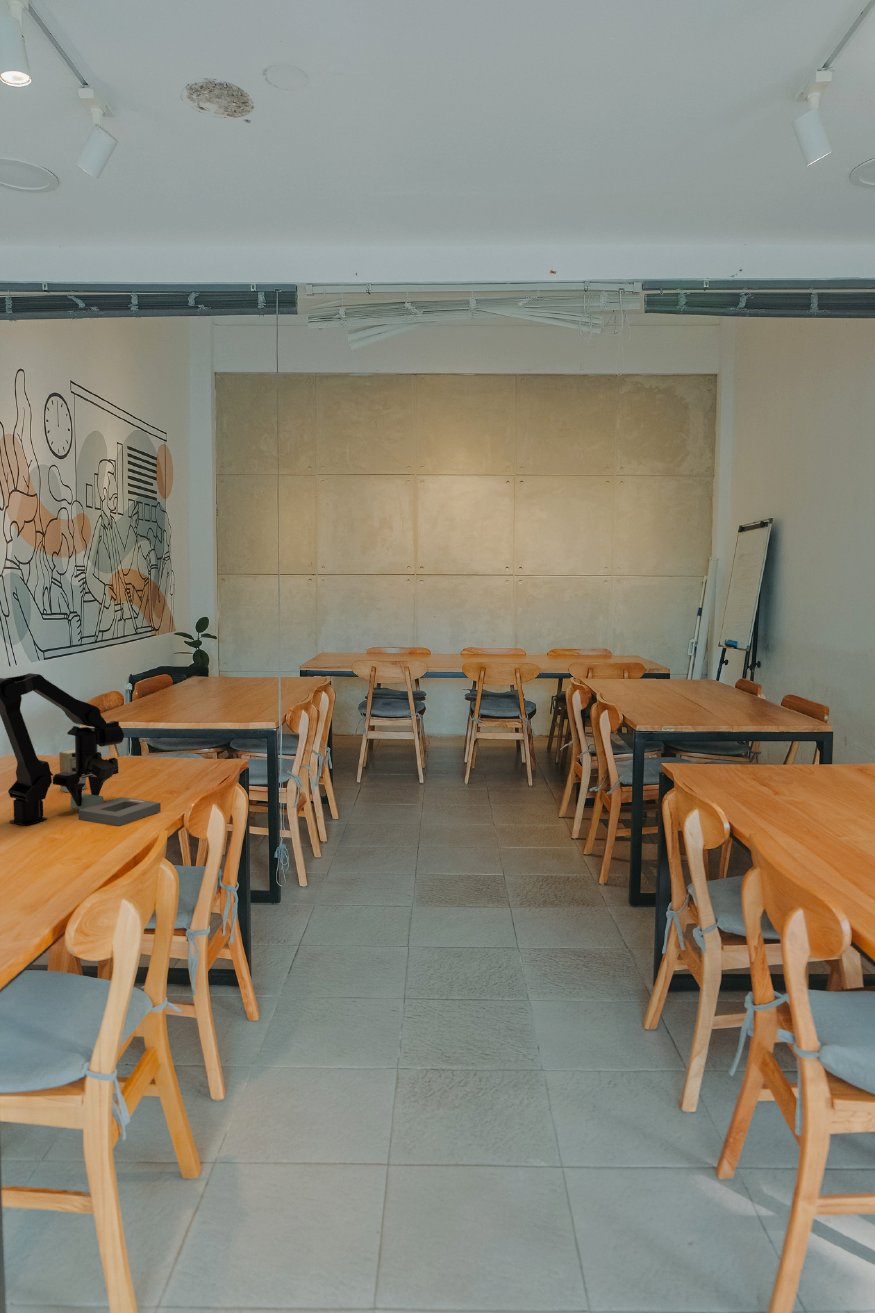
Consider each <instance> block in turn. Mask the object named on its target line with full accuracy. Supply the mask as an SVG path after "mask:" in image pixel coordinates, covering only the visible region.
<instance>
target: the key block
mask: <svg viewBox="0 0 875 1313" xmlns="http://www.w3.org/2000/svg"><path fill="white" fill-rule="evenodd" d="M100 803H104V796H103V795H99V796H98V795H91V793H90V794H89V793H83V792H82V803H81V806H80V807H79V806H77V805H76V803H75V801H74V799H73V797H72V796H71V795H70V808H71V809H78V810H81V809H84V808H87V807H91V806H94V805H97V804H100Z"/></svg>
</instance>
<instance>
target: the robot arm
mask: <svg viewBox="0 0 875 1313" xmlns="http://www.w3.org/2000/svg"><path fill="white" fill-rule="evenodd" d="M31 692H34V693H35V694H37V695H39V696H41V697H42V698H43V699H45V700H46V701H48V702H50V703H52V704H53V705H55V706H56V707H57V708H59V709H61V711H62V712H64V714H65V716H66V717H67V718H68V719H69V720H70V721H71V722H72V723H73V724H76V725H77V726H76V725H73V726H72V727H71V729H70V730H69V731H67V733H66V734H67V735H70V736H73V737H74V749H75V753H72V757H75V767H74V768H72V771H73V772H76V773H71V772H62V773H60V772H59V773H55V774H53V773H52V771H51V768H50V763H49V761H45V760H40V759H39V758H38V756H37V754H36V750H35V748H34V746H33V743H32V739H31V737H30V736H31V735H30V733H29V731H28V728H27V724H26V722H25V719H24V717H23V713H22V711H21V706H22V705H21V704H22V700H23V698H22V696H23V695H26V694H29V693H31ZM0 718H1V721H2V723H3V726H4V729H5V732H6V736H7V737H8V740H9V743H10V745H11V748H12V751H13V754H14V757H15V760H16V769H15V774H16V780H15V782H13V784H12V785H11V787H10V788H9V789H8V791H7V792H8V795H9V797H10V798H11V799H13V804H12V805H13V819H10V820H9V823H10V824H17V825H23V826H29V825H33V824H37V823H40V822H42V821H46V820H47V817H45V816H44V801H43V800H46V798H47V794H48V792H49V788H50V787H51V784H52V785H56V786H60V785H61V786H66V788H67V789H68V791H69V792H70V793H69V794H70V797H71V796H72V797H73V799H74V801H75V803H76V805H77V806H79V807H80V806H81V803H82V793H83V789H82V788H83V786H84V785H85V783H82V778H86V779H87V778H88V784H89V789H90V790H89V791H90V794H91V795H98V796H100V792H101V791H102V787H103V785H104V783H105V782H106V781H107V780H109V779H110V778H112V777H113V775H117V774H119V760H118V758H116V757H109V759H107V758H105V759H104V758H102V753H101V751H98V746H99V747H101V748H102V747H109V746H115V745H119V744H122V743H123V741H124V738H125V733H124V731H123V729H122V727H121V725H120V722H119V721H118V720H110V721H108V722H107V721H106V720H105V718H104V717H103V716H102V715H101V709H100V708H99V707H98V706H96V705H93V704H91V703H89V702H86V701H84V700H83V701H82V700H80V699H77V698H75V697H73V696H72V695H70V694H69V693H67V692H66V691H64V690H63V689H62V688H60V687H58V686H57V685H55V684H54V683H52V682H51V681H49V680H47V678H45V677H44V676H43V675H42V674H39V673H33V672H32V673H26V674H23V675H17V676H10V677H4V678H3V677H0ZM78 725H79V726H78ZM80 726H85V727H80ZM91 728H92V729H91ZM82 774H84V775H82Z"/></svg>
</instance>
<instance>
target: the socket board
mask: <svg viewBox="0 0 875 1313" xmlns="http://www.w3.org/2000/svg"><path fill="white" fill-rule="evenodd" d="M161 805H162V804H161V802H157V801H152V800H144V799H138V798H137V799H136V798H131V797H124V796H123V797H122V796H120V797H117V798H114V799H110V800H108V801H105V802H104V801H103V803H100V804H97V805H94V806H91V807H87V808H84V809H78V811H77V812H78V820H81V821H85V822H91V823H92V822H93V823H99V824H105V825H109V826H118V827H120V826H124V825H126V824H129V823H132V822H136V821H138V820H141V819H143V818H146V817H147V818H148V817H149V816H152V815H155V814H157V813H161V810H162V809H161V807H162V806H161Z"/></svg>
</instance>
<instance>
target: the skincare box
mask: <svg viewBox="0 0 875 1313" xmlns="http://www.w3.org/2000/svg"><path fill="white" fill-rule="evenodd" d="M72 753H75V748H73V749H69V750H63V751H59V752H58V754H59V756H58V757H59V773H62V772H71V773H76V772H73V771H72V768H74V767H75V757H72ZM82 775H84V774H82ZM82 783H85V785H84V786H83V788H82V790H86V789H87V777H86V778H82ZM59 786H60V792H65V793H68V794H70V792H69V791H68V789H67V788H66V786H61V785H59Z"/></svg>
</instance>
